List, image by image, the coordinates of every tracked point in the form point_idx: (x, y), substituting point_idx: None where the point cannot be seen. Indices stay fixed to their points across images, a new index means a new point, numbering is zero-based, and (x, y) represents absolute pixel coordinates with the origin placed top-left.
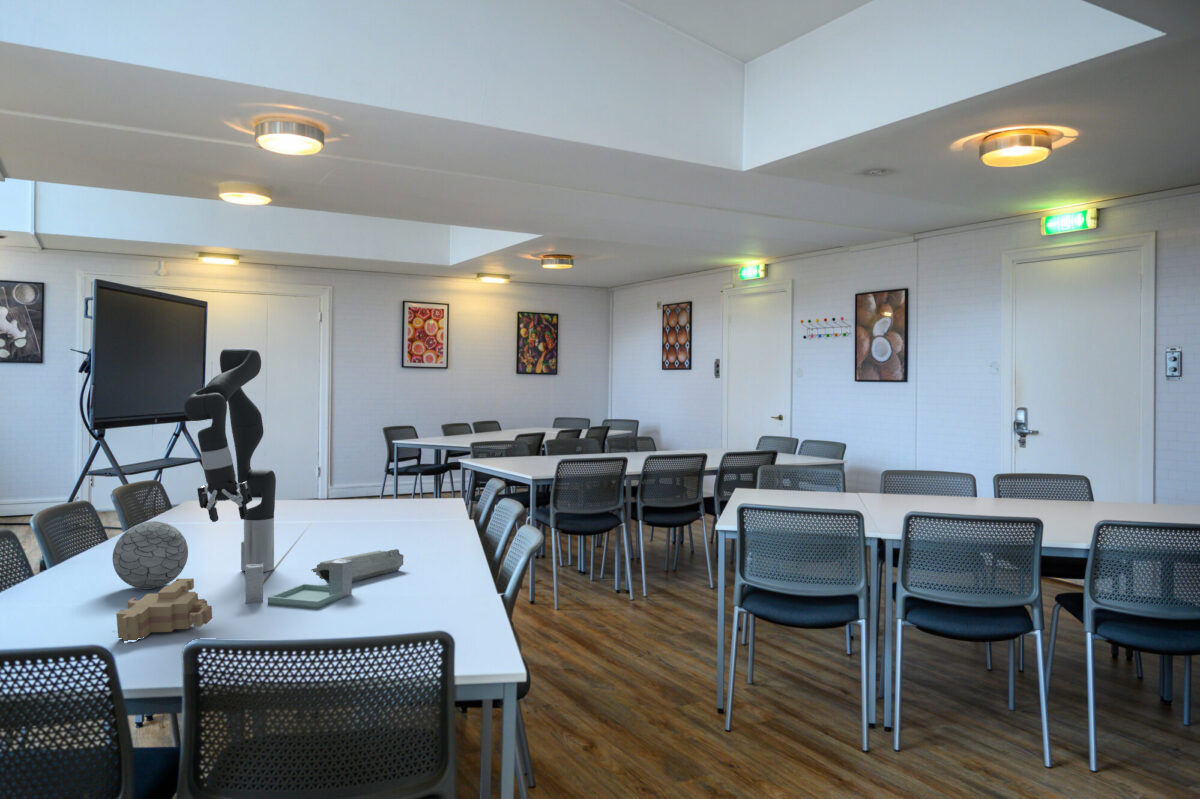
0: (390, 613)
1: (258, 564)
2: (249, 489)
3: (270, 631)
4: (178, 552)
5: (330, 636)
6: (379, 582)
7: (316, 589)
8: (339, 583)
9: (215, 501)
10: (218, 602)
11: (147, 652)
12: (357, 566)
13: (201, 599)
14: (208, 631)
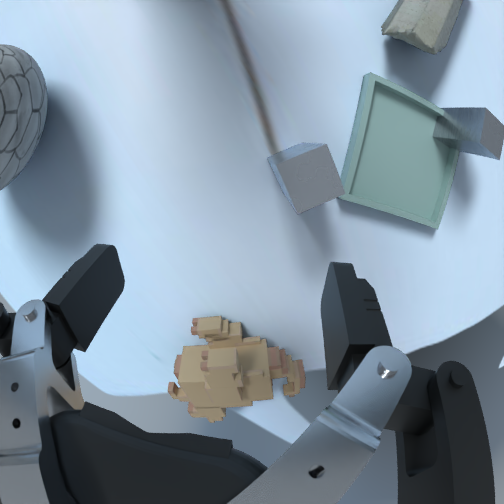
0: (501, 241)
1: (316, 159)
2: (490, 481)
3: None
4: (17, 113)
5: (445, 337)
6: (463, 44)
7: (399, 94)
8: (465, 149)
9: (69, 395)
10: (213, 187)
11: (261, 408)
12: (453, 25)
13: (276, 366)
14: (296, 352)
